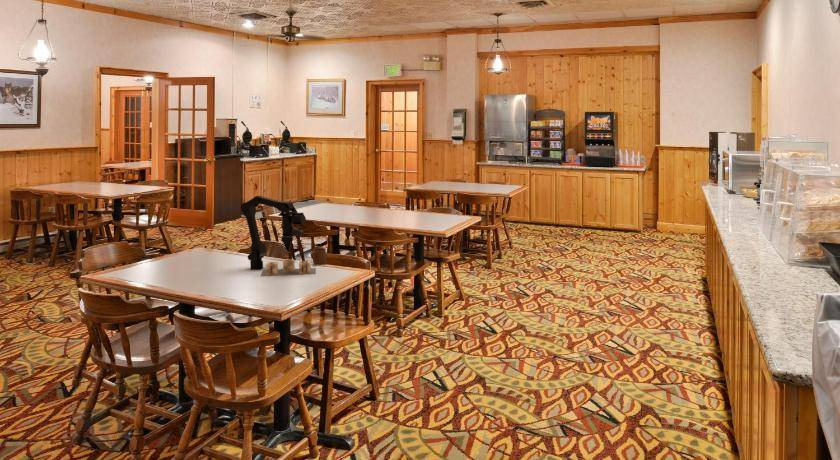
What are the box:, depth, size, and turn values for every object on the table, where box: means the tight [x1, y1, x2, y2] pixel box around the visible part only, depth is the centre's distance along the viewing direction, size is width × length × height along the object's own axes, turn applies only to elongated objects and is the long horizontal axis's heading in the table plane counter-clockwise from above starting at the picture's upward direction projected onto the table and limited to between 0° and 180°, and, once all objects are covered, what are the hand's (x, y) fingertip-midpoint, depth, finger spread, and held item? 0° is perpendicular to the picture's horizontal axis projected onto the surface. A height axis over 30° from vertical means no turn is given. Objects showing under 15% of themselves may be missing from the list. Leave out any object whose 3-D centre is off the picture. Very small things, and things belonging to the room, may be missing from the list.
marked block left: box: [265, 261, 279, 275], centre depth 339 cm, size 6×6×6 cm
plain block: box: [282, 258, 296, 272], centre depth 346 cm, size 6×6×6 cm
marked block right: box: [298, 260, 311, 275], centre depth 342 cm, size 6×6×6 cm
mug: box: [310, 247, 327, 266], centre depth 364 cm, size 12×8×9 cm, turn 153°
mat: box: [260, 267, 317, 277], centre depth 344 cm, size 30×16×1 cm, turn 99°
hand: (288, 251), depth 345 cm, fingers open, 3 cm apart
